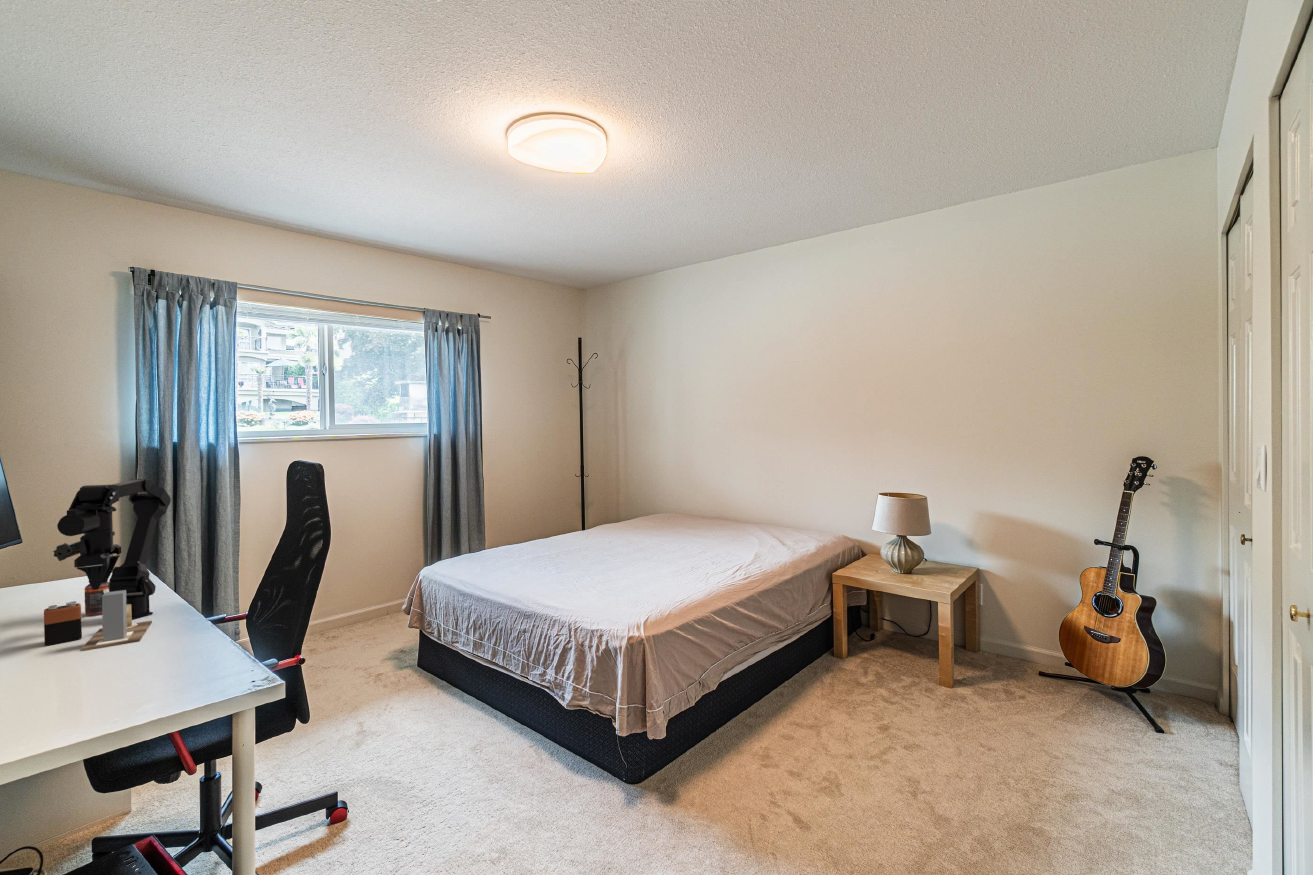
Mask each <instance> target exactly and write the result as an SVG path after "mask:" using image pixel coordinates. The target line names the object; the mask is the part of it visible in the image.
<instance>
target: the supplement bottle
mask: <svg viewBox="0 0 1313 875" xmlns="http://www.w3.org/2000/svg"><path fill="white" fill-rule="evenodd" d="M88 583H89V584H87V585H86V586H85V587H84V612H85V615H86V616H87V617H95V616H101V615H102V595H104V594H105V593H106V592H110V591H109V588H108V584H109V580H108V581H107V582H106V583H101V585H100V587H99V589H98V590H93V589H92V587H91V584H90V582H89V581H88Z"/></svg>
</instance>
